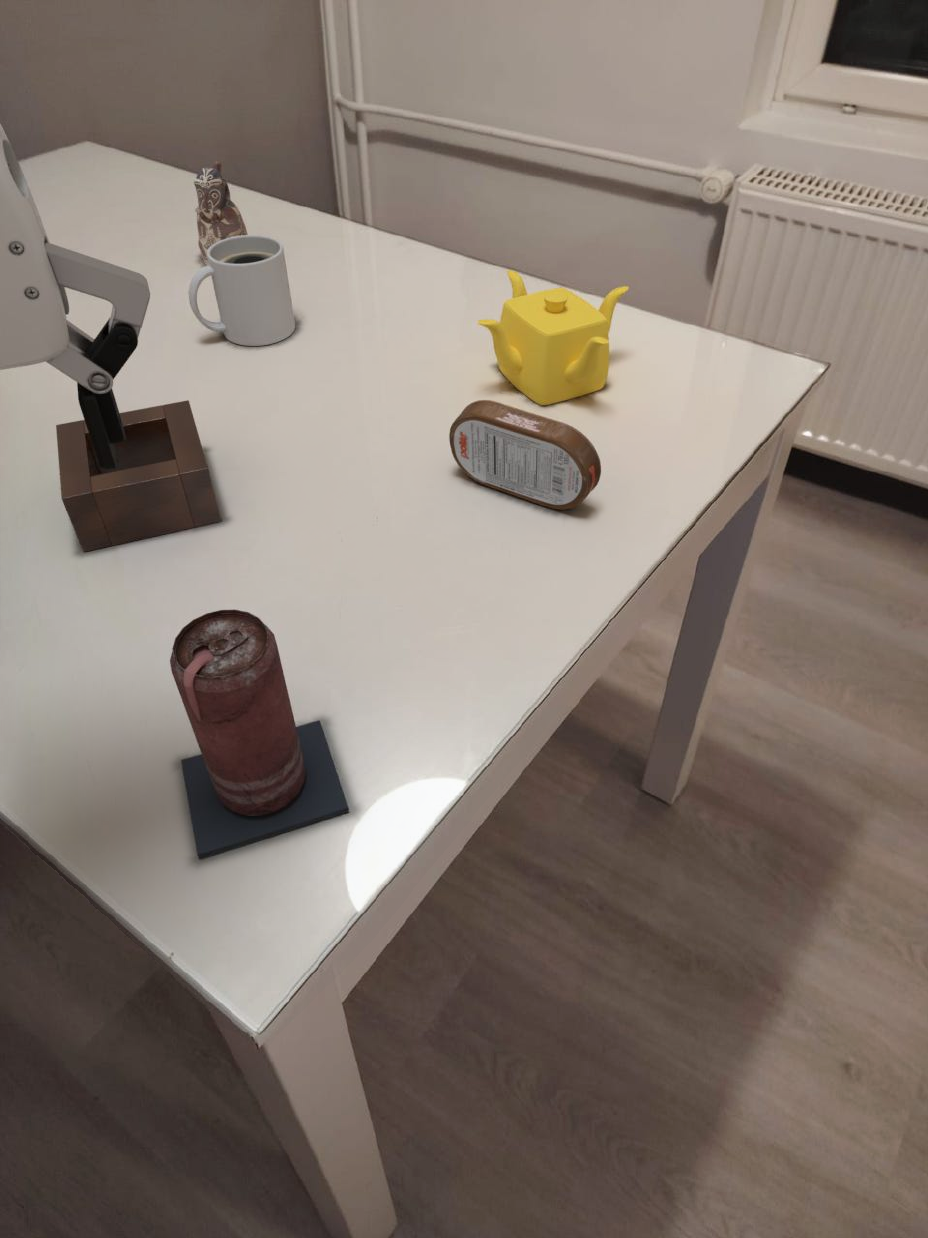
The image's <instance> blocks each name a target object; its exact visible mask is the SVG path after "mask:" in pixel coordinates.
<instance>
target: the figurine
mask: <svg viewBox="0 0 928 1238" xmlns="http://www.w3.org/2000/svg"><path fill="white" fill-rule="evenodd" d="M221 171H222V163H220V162H218V161H214V162H213V165H212V167H207V166H206V167H202V168H201V169H200V171H198V172H197V175H196V178H195V179H194V181H193V185H194V187H195V191H196V196H197V203H198V206H195V208H194V211H195V213H196V226H197V234H198V248H199V250H200V255H201V258H202V260H203V263H204V264H205V266H208V265H209V263H208V258H205V257H207V251H208V249H209V248H210V246H212V245H213V244H215V243H216V242H218V241H221V240H224V239H227V238H230V237H235V236H242V235H249V233H248V231H247V227H246V224H245V222H244V219H243V216H242V213H241V211H240V209H239V208H238V206H237V205H236V204H235V203H234V202H233V201H232V200H231V191H230V188H229V185H228V182H227V181H226V180H225V179H224V178H223V176H222V175H221ZM204 256H205V257H204Z"/></svg>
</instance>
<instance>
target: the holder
mask: <svg viewBox="0 0 928 1238" xmlns="http://www.w3.org/2000/svg"><path fill="white" fill-rule="evenodd" d="M119 413H120V417H121V420H122V424H123V428H124V432H125V438H126V442H120V443H114V449H115V457H116V466H117V468H115V469H109V470H105V467H104V468H100V465H99V462H98V459H97V456H96V453H95V450H94V447H93V444H92V441H91V438H90V435H89V432H88V429H87V426H86V423H85V420H84V419H80V420H76V421H71V422H65V423H59V424H55V429H56V443H57V457H58V458H57V459H58V469H59V470H58V471H59V484H60V497H61V498H60V499H61V501H62V503H63V506H64V508H65V511H66V513H67V516H68V518H69V520H70V523H71V526H72V528H73V531H74V533H75V535H76V537H77V540H78V542H79V545H80V547H81V550H82V552H83V553H86V552H90V551H95V550H100V549H104V548H108V547H112V546H118V545H122V544H126V543H131V542H135V541H141V540H144V539H150V538H153V537H158V536H162V535H168V534H172V533H176V532H180V531H184V530H185V531H186V530H189V529H193V528H198V527H202V526H203V527H204V526H207V525H212V524H217V523H220V522H222V516H221V512H220V508H219V505H218V501H217V497H216V493H215V490H214V485H213V481H212V478H211V473H210V469H209V466H208V462H207V458H206V456H205V455H206V454H205V452H204V449H203V445H202V442H201V437H200V434H199V431H198V427H197V425H196V421H195V418H194V414H193V411H192V407H191V403H190V400H188V399H187V400H182V401H177V402H172V403H166V404H161V405H156V406H151V407H145V408H144V407H143V408H139V409H134V410H129V411H123V412H119Z"/></svg>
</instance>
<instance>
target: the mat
mask: <svg viewBox="0 0 928 1238" xmlns="http://www.w3.org/2000/svg"><path fill="white" fill-rule="evenodd" d="M296 729H297V734H298V738H299V742H300V747H301V751H302V755H303V760H304V764H305V769H306V772H305V781H304V783H303V785H302V787H301V789H300V791H299V793H298V794H297V795H296V796H295V797H294V798H293V799H292V800H291V801H290V803H289V804H288V805H286V806H284V807H283V808H281V809H280V810H278V811H276V812H273V813H270V814H267V815H263V816H247V815H243V814H239V813H235V812H233V811H231V810H230V809H228V808H227V807H225V806H224V805H223V804H222V802H221V801H220V799H219V798H218V796H217V794H216V792H215V789H214V786H213V784H212V781H211V778H210V775H209V773H208V770H207V767H206V764H205V762H204V759H203V756H202V753H201V754H197V755H193V756H190V757H187V758H186V757H185V758H183V759H181V760H180V764H181V769H182V774H183V779H184V786H185V791H186V792H185V793H186V797H187V803H188V809H189V814H190V820H191V826H192V831H193V832H192V833H193V837H194V843H195V848H196V854H197V856H198V859H199V860H202V859H205V858H208V857H210V856H214V855H217V854H220V853H224V852H227V851H230V850H234V849H236V848H241V847H242V846H247V845H249V844H252V843H255V842H259V841H262V840H265V839H268V838H271V837H274V836H278V835H280V834H283V833H287V832H289V831H293V830H296V829H300V828H303V827H306V826H309V825H313V824H315V823H319V822H322V821H324V820H329V819H332V818H334V817H338V816H340V815H343V814H347V813H349V812H350V809H349V806H348V805H349V804H348V801H347V799H346V796H345V793H344V790H343V786H342V784H341V780H340V778H339V775H338V772H337V769H336V768H337V767H336V766H335V763H334V759H333V757H332V753H331V751H330V747H329V744H328V742H327V738H326V735H325V732H324V729H323V726H322V723H321V720H319V719H318V720H315V721H312V722H308V723H304V724H301V725H298V726H296Z"/></svg>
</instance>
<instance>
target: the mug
mask: <svg viewBox="0 0 928 1238" xmlns="http://www.w3.org/2000/svg"><path fill="white" fill-rule="evenodd" d="M207 258H208V263H209V265H205V266H203V267H200V268H199V269H198V270H197V271H196V272H195V273H194V274H193V276H192V278H191V281H190V282H189V286H188V287H189V288H188V302H189V305H190V308H191V311H192V313H193V315H194V316H195V318H196V319H197V320H198V321H199V323H200V324H201V325H202V326H204V327H205V328H206V329H207V330H210V331H212V332H223V335H224V337H225V338H226V339H227V340H228V341H229V342H231V343H233V344H236V345H240V346H245V347H261V346H268V345H272V344H276V343H279V342H281V341H283V340H285V339H287V338H288V337H290V336H291V335H292V334H293V333H294V331H295V329H296V319H295V315H294V314H295V313H294V309H293V302H292V295H291V287H290V281H289V276H288V269H287V262H286V255H285V249H284V245H283V243H282V242H281V241H280V240H278V239H277V238H274V237H271V236H267V235H260V234H248V235H242V236H235V237H230V238H227V239H224V240H221V241H218V242H216V243H215V244H213V245H212V246H210V248H209V249H208V251H207ZM208 277H211V281H212V285H213V290H214V296H215V301H216V304H217V309H218V314H219V319H220V321H218V322H215V321H210V320H208V319H206V318H205V317H204V316H203V315H202V313H201V311H200V309H199V305H198V292H199V288H200V286H201V284H202V282H204V280H205V279H206V278H208Z"/></svg>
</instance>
